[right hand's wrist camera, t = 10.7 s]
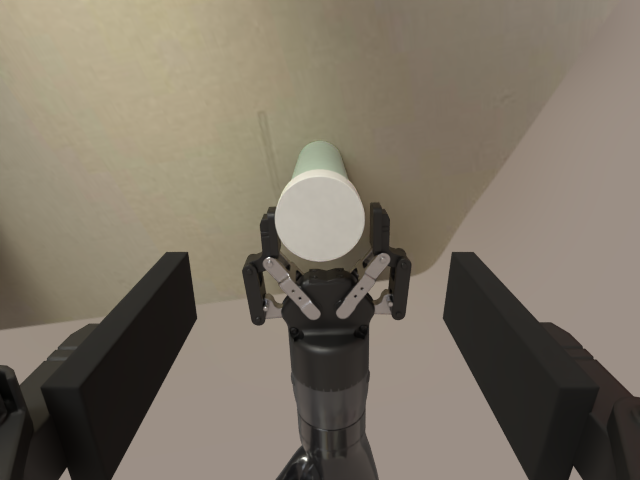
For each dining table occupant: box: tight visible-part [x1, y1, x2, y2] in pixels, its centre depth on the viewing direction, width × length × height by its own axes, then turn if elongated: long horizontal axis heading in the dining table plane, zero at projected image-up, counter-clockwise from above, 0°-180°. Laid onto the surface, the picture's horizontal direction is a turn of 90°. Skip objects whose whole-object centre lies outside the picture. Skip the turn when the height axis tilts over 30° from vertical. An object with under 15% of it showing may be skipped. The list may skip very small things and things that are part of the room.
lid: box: [275, 169, 365, 262], centre depth 22 cm, size 5×5×2 cm
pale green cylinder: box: [291, 141, 349, 180], centre depth 29 cm, size 4×4×16 cm
